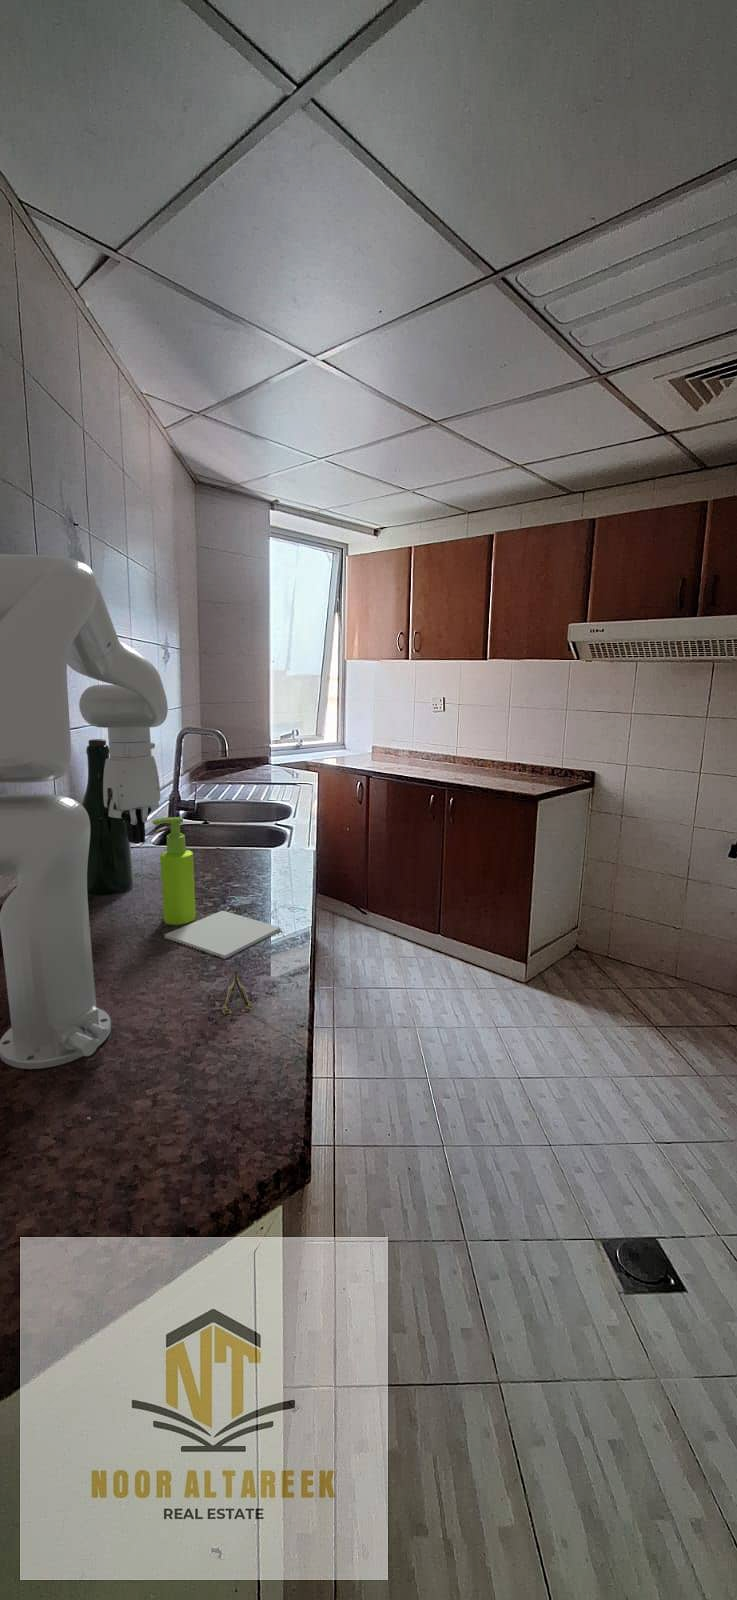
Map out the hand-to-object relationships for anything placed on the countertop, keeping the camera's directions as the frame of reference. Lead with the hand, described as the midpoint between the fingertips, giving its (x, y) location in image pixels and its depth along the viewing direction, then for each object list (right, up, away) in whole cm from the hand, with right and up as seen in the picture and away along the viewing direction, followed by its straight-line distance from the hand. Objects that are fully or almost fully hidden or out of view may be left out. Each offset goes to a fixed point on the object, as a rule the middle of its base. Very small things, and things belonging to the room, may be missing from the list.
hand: (136, 841), depth 118 cm
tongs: (+26, -21, -30) cm, 45 cm away
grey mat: (+20, -16, -10) cm, 27 cm away
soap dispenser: (+9, -15, -3) cm, 18 cm away
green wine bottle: (-11, -12, +13) cm, 20 cm away
